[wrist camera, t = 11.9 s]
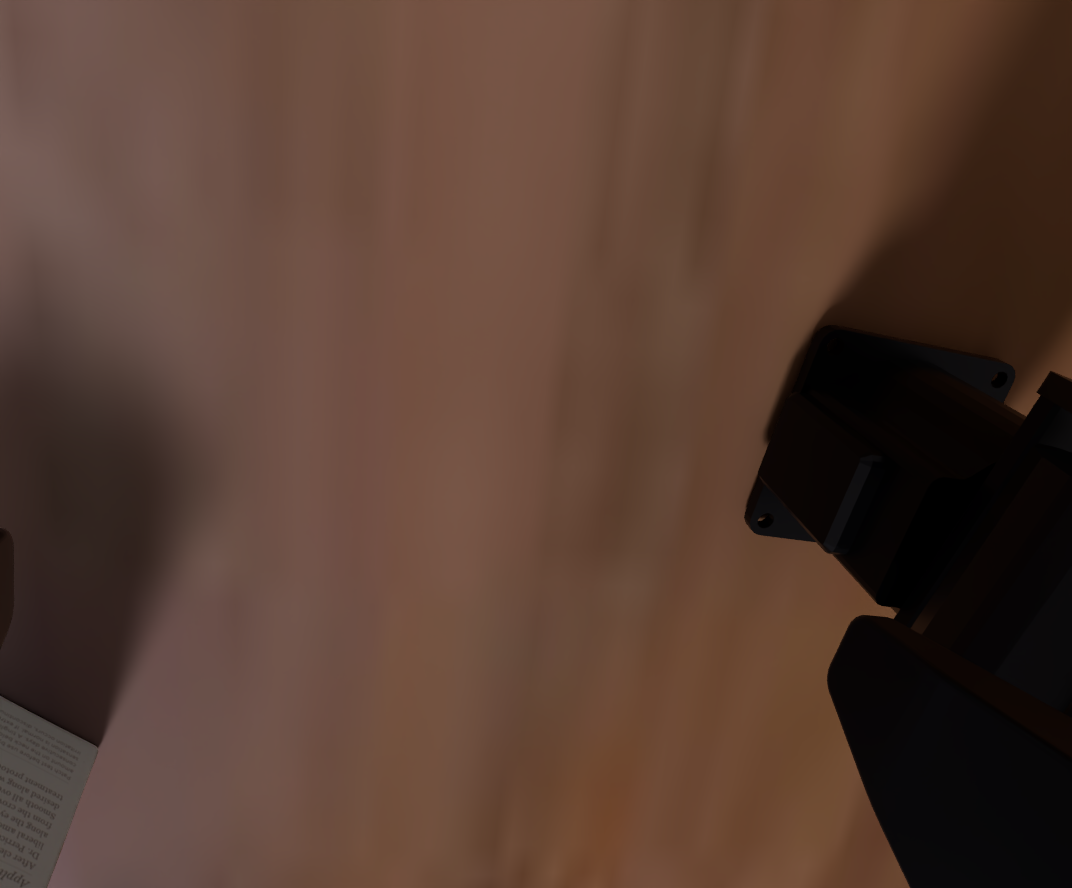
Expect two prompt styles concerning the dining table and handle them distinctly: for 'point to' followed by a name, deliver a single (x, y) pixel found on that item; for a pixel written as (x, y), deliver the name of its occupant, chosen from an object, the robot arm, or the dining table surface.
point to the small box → (37, 793)
